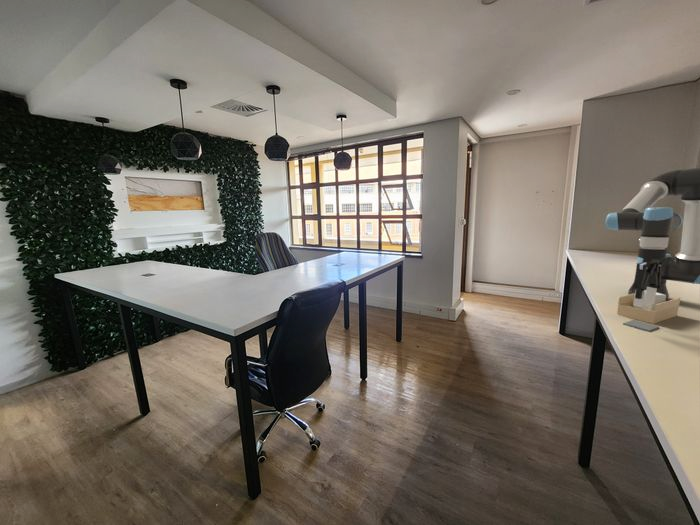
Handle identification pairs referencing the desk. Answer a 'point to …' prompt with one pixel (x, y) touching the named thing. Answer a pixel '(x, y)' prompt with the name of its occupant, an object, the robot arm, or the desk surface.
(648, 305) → the small box
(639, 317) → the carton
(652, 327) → the mat
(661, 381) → the desk surface
